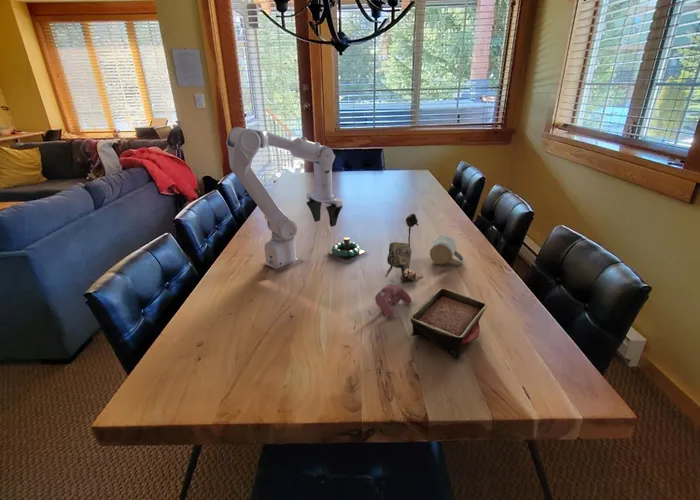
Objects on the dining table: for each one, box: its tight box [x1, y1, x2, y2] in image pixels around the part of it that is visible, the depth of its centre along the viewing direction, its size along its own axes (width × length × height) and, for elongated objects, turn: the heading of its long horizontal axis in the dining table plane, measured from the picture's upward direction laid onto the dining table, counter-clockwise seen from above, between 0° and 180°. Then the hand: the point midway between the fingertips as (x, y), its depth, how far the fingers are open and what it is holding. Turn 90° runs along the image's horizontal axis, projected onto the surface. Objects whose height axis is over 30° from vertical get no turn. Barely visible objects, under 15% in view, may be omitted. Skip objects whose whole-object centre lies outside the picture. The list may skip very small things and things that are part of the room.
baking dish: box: [410, 287, 488, 360], centre depth 84 cm, size 14×18×10 cm
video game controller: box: [374, 282, 413, 319], centre depth 96 cm, size 10×5×7 cm, turn 141°
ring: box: [330, 241, 361, 257], centre depth 126 cm, size 10×10×2 cm
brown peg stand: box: [328, 237, 366, 261], centre depth 126 cm, size 9×9×6 cm
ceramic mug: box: [429, 234, 465, 266], centre depth 120 cm, size 11×8×8 cm
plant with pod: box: [385, 212, 424, 284], centre depth 106 cm, size 8×11×20 cm
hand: (325, 223), depth 126 cm, fingers open, 7 cm apart
